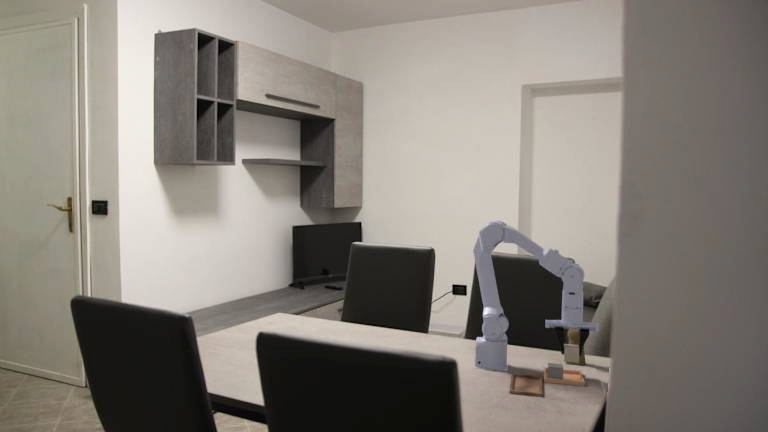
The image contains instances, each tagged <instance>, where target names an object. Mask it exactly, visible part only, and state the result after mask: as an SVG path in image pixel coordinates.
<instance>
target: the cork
mask: <svg viewBox="0 0 768 432" xmlns="http://www.w3.org/2000/svg"><path fill="white" fill-rule="evenodd" d="M567 338H568V344H571V345H578V346H579V330H577V329H568V330H567ZM585 355H586V354H585V346H584V347H583V350H582V354H581V356H579V363H577V362H565V365H568V366H569V365H570V366H578V367H579V366H580V367H582V366H583V367H586V365H587V364H586V356H585Z"/></svg>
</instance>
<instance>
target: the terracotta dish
mask: <svg viewBox="0 0 768 432" xmlns="http://www.w3.org/2000/svg"><path fill="white" fill-rule="evenodd" d="M542 369H543V383H551V384H562V385H571V386H579V387H585V379H584V375H583V372H582V370H579V369H578V370H577V369H567V368H566V369H565V368H563V379H553V378H548V366H547V367H544V366H543V368H542Z"/></svg>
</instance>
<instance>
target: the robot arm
mask: <svg viewBox="0 0 768 432" xmlns="http://www.w3.org/2000/svg"><path fill="white" fill-rule="evenodd" d="M501 243H505V244H515V245H516V246H518V247H520V248H522V249H523V250H524V251H526V252H527V253H528V254H531V255H532V256H534V257H535V258H537V261H538V263H539V265H540V266H541V267H542V268H544V269H545V270H547V271H548V272H549V273H551V274H553V275H554V276H556V277H558V278H561V281H562V283H563V284H562V285H563V287H562V291H561V292H562V294H561V295H562V297H561V319H545V329H550V328H552V329H554V332H555V334H556V337H557V338H558V341H559V342H558V343H559V346H560V350H561V351H560V352H561V355H563V354H564V344H565V329H567V330H569V329H577V330H579V356H581V354H582V350H583V347H584V348H585V344H586V342H587V340H588V338H589V336H590V331H592V332H600V324H599V323H596V322H590V321H589V322H588V321H584V290H583V289H584V283H583V282H584V279H585V271H584V269H583V267H581V266H580V265H579V264H578V263H574V260H572V259H568V258H566V257H565V256H564V255H562V254H560V251H559V250H558V249H556V248H555V249H554V248H553V249H552V248H543V247H542V246H541V245H539V244H538V243H536V242H535V241H533V240H532V239H531V238H529V237H528V236H527V235H525V234H524V233H523V232H521V231H520V230H518V229H516V228H515V227H513V226H511V225H507V223H505V222H504V221H500V220H497V221H491V222H487V223H486V224H484V226H483V227H482V228H481V229H480V230H479V232H478V237H477V238H476V242H475V245H474V247H473V257H474V263H475V268H476V273H477V278H478V283H479V290H480V296H481V300H482V301H481V302H482V304H483V311H482V319H483V323H482V326H481V332H482V334H483V335H482V336H476V340H475V355H474V362H475V363H474V368H475V369H480V370H490V371H500V372H501V371H502V372H508V371H509V363H508V336H507V334H506V332H507V330H508V329H509V325H510V323H509V320H508V318H507V316H506V315H505V314H504V309H503V306H502V305H501V302H500V296H499V292H498V285H497V280H496V275H495V269H494V264H493V259H492V258H493V257H492V253H493V251H494V250H495V249H496V248H497V246H498V245H499V244H501Z"/></svg>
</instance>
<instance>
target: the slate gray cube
mask: <svg viewBox="0 0 768 432" xmlns="http://www.w3.org/2000/svg"><path fill="white" fill-rule="evenodd" d="M547 368H548V378H553V379H563V369H564V364H563V363H556V362H547Z"/></svg>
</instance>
